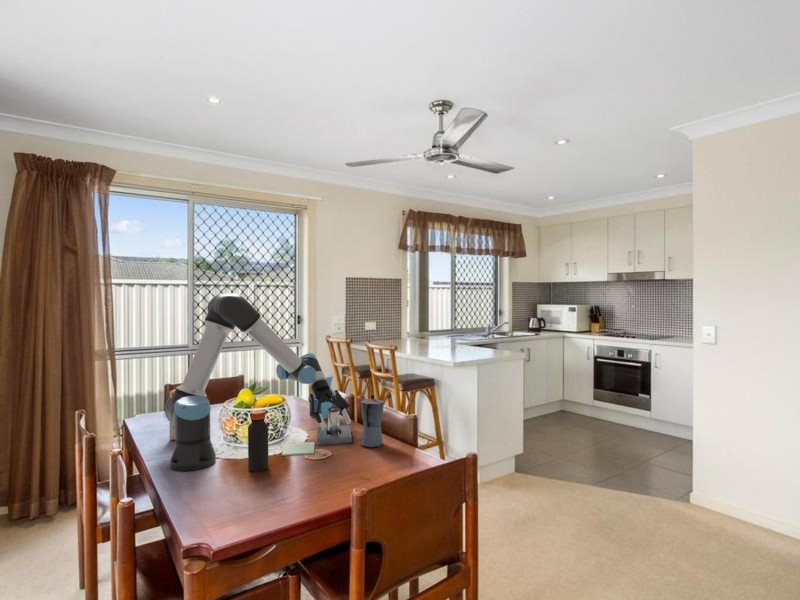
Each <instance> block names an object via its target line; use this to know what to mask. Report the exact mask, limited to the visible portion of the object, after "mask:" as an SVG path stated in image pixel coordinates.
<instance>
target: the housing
mask: <svg viewBox="0 0 800 600" xmlns="http://www.w3.org/2000/svg"><path fill="white" fill-rule="evenodd" d="M316 432H317V433H316V445H317V446H321V445H322V446H323V445H324V446H325V445H339V444H352V442H353V441H352V439H353V438H352V436H353V435H352V432H351V426H350V425H340V434H328V426H326V429H325V430H324V431H323V430H322V428H321V426H318V427H317V430H316Z"/></svg>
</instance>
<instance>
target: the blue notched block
mask: <svg viewBox="0 0 800 600" xmlns="http://www.w3.org/2000/svg"><path fill="white" fill-rule="evenodd" d="M325 378H326V381H327V383H328V385H329V388H330V390H331V391H332V381H333V378H334V376H333V375H331V376H325ZM311 394H313V392H312V393H311ZM313 395H314V394H313ZM331 400H332V398H331ZM317 402H318V400H317V399H316V398H314V412H315V411H316V407H317ZM332 405H333V403H330V402H324V403H321V407H320V411H319V414H321V415H322V417H323V420H325V419H328V408H330V407H333V406H332ZM311 418H314V416H312V417H311Z"/></svg>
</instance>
